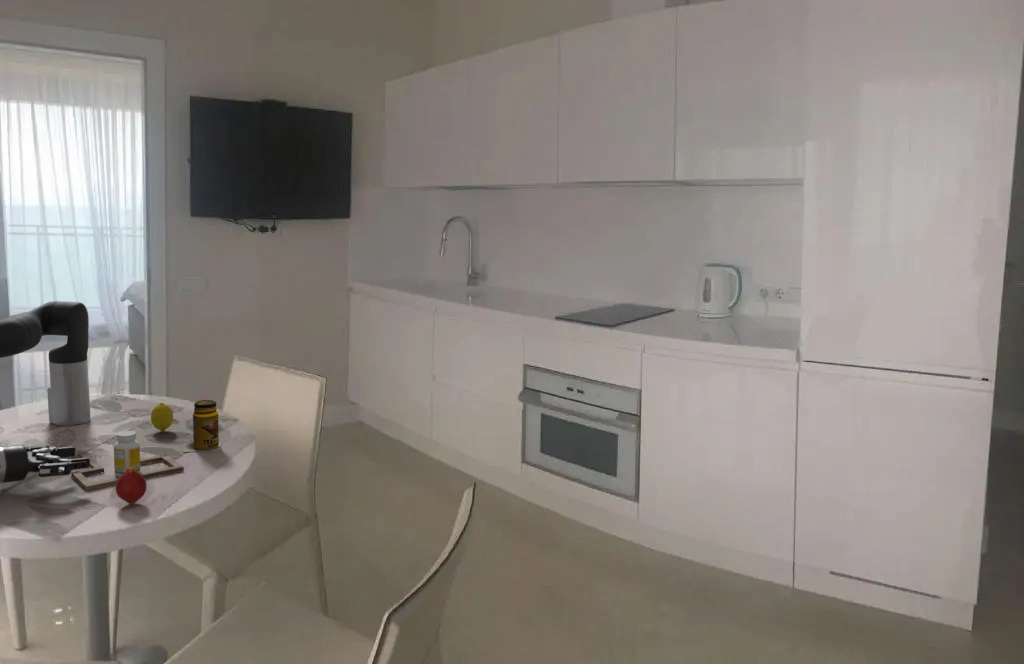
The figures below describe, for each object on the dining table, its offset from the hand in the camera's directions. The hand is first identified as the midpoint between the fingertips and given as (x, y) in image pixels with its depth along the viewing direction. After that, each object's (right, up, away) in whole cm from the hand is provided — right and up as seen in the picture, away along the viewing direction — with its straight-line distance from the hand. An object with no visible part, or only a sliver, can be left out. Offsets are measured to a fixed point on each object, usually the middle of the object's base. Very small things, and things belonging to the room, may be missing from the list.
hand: (81, 457), depth 179 cm
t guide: (+3, -4, +12) cm, 13 cm away
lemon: (+1, +1, +39) cm, 39 cm away
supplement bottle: (+7, -5, +7) cm, 11 cm away
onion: (+16, -9, -10) cm, 20 cm away
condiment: (+16, -2, +28) cm, 32 cm away
